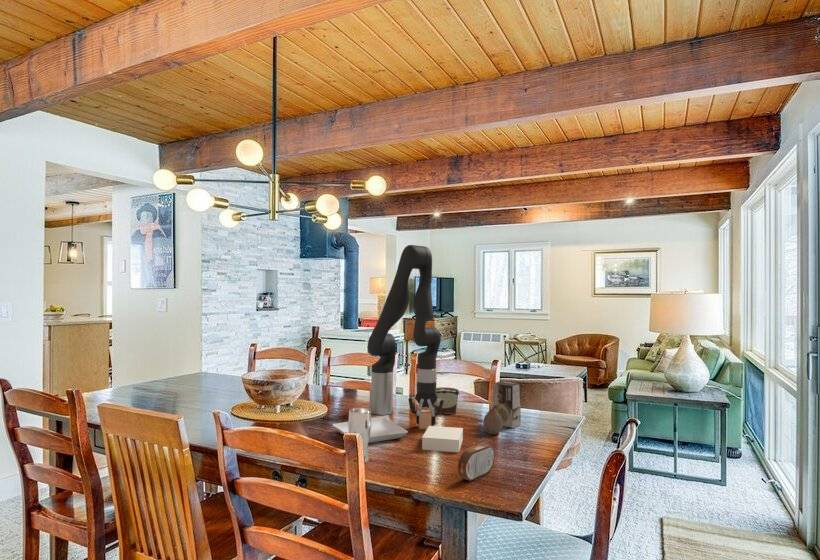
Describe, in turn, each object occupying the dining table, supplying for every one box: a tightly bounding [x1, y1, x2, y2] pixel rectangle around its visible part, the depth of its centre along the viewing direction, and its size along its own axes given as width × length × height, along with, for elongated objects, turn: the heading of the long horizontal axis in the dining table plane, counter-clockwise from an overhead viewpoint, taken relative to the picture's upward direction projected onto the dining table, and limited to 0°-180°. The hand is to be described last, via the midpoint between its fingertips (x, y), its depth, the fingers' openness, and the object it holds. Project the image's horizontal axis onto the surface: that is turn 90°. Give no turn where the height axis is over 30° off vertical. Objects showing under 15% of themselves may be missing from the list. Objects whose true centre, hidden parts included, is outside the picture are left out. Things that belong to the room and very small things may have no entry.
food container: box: [434, 386, 460, 415], centre depth 211 cm, size 12×6×10 cm, turn 84°
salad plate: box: [332, 416, 408, 444], centre depth 175 cm, size 21×21×3 cm
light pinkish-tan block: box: [418, 409, 432, 430], centre depth 186 cm, size 4×4×6 cm
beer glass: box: [347, 407, 372, 463], centre depth 150 cm, size 7×7×15 cm
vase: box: [482, 407, 503, 435], centre depth 180 cm, size 7×7×9 cm
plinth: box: [421, 425, 464, 453], centre depth 166 cm, size 12×14×4 cm
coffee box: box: [492, 380, 522, 429], centre depth 192 cm, size 9×6×16 cm
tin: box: [457, 442, 496, 482], centre depth 138 cm, size 15×3×8 cm, turn 137°
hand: (426, 425), depth 186 cm, fingers closed on light pinkish-tan block, 4 cm apart
